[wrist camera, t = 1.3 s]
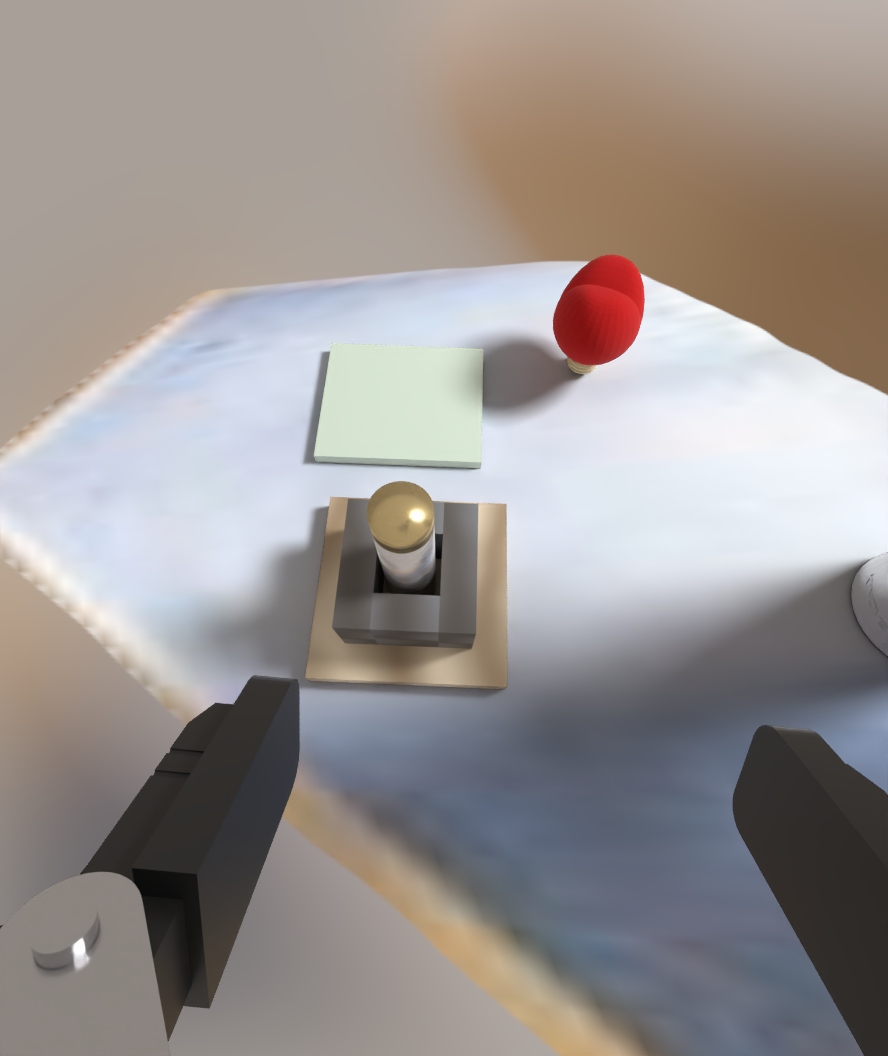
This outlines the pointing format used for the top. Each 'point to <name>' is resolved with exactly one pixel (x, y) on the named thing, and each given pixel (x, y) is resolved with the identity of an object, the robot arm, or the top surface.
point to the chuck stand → (413, 604)
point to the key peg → (404, 537)
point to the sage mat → (402, 406)
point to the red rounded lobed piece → (599, 312)
